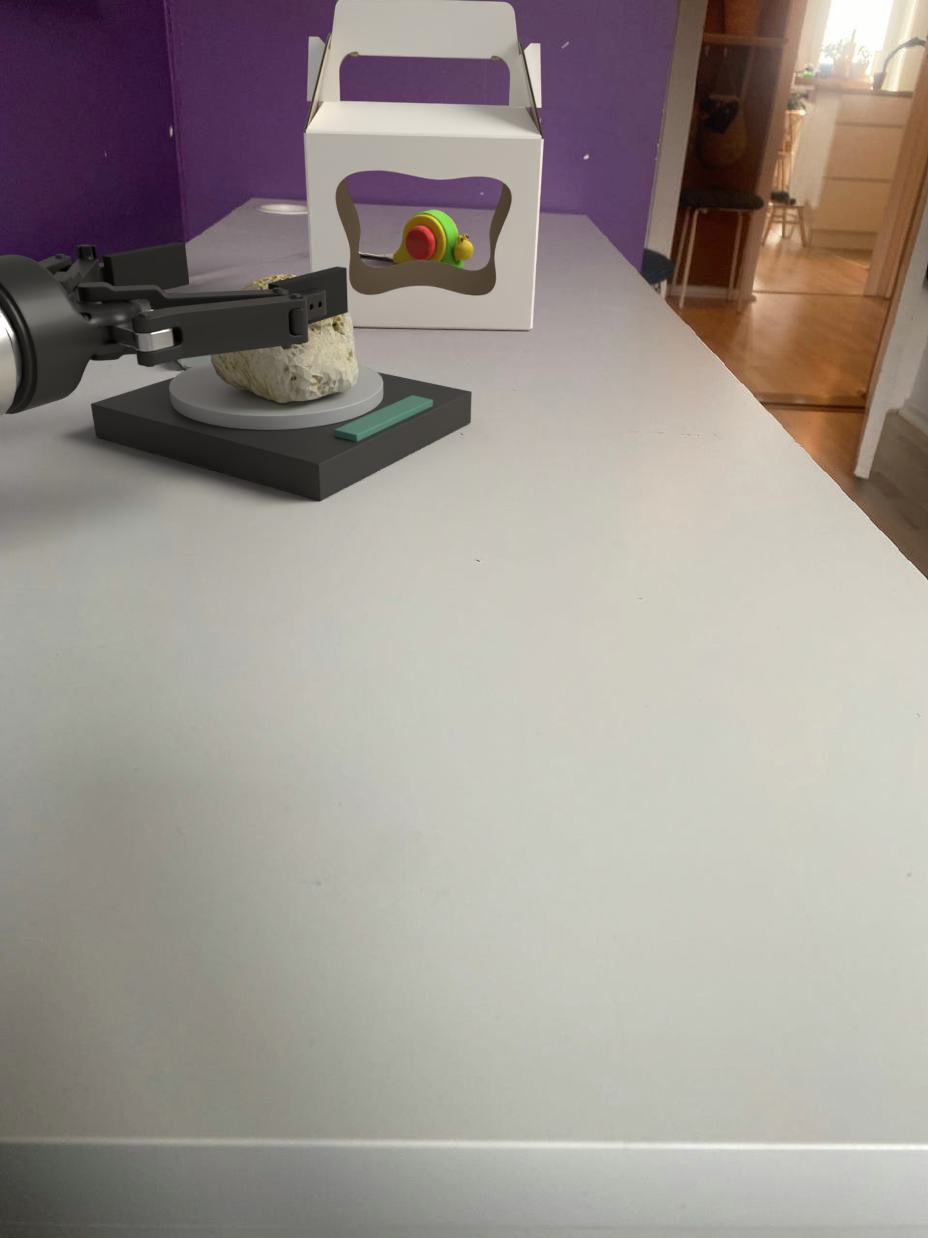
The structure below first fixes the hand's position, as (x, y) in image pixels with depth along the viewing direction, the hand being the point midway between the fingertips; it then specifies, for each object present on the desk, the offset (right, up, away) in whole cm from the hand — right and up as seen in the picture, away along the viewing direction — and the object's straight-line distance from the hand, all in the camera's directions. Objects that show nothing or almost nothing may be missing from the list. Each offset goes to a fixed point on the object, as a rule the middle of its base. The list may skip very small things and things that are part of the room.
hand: (259, 275), depth 66 cm
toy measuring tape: (+6, +23, +63) cm, 67 cm away
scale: (+1, -9, +7) cm, 11 cm away
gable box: (+9, +9, +39) cm, 41 cm away
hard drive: (-10, +2, +25) cm, 27 cm away
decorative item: (+1, -6, +5) cm, 8 cm away
